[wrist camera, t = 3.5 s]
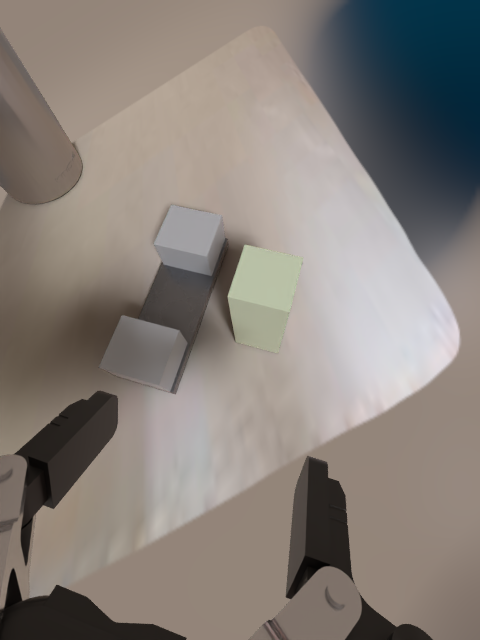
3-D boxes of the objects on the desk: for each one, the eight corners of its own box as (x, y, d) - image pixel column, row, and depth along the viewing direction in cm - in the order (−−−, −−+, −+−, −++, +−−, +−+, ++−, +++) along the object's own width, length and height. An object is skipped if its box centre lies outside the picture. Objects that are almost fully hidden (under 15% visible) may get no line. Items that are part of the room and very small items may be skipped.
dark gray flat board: (118, 377, 29) (114, 375, 28) (179, 233, 34) (177, 227, 33) (175, 394, 28) (172, 392, 27) (228, 244, 33) (227, 238, 32)
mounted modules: (116, 376, 28) (98, 367, 24) (179, 228, 33) (171, 204, 30) (170, 391, 27) (158, 385, 24) (225, 238, 32) (222, 215, 29)
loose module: (235, 342, 29) (227, 296, 20) (247, 303, 31) (244, 244, 21) (277, 353, 29) (289, 312, 19) (287, 314, 30) (303, 257, 21)
